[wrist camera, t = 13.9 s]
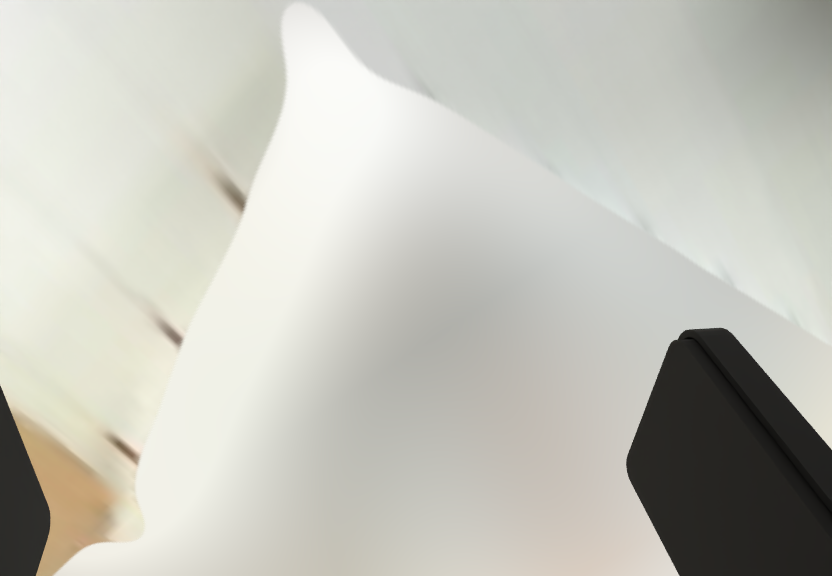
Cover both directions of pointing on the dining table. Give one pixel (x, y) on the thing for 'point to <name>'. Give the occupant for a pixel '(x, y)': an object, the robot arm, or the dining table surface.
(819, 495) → the robot arm
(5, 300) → the dining table surface
